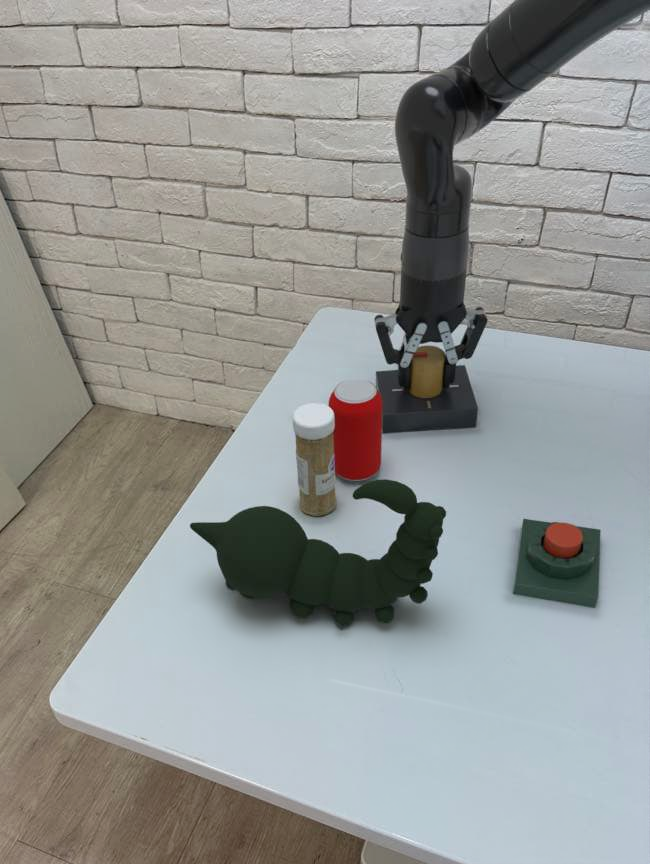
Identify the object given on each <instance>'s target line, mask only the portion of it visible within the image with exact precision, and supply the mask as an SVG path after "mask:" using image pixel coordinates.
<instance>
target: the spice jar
mask: <svg viewBox="0 0 650 864" xmlns="http://www.w3.org/2000/svg"><path fill="white" fill-rule="evenodd" d="M334 428H335V419H334V412H333V410H332V409H331V408H330V407H329V405H327V404H325V403H320V402H309V403H305V404H303V405H301V406H298V407H297V408H296V409H295V410H294V412H293V414H292V429H293V432H294V434H295V458H296V459H295V460H296V470H297V471H296V472H297V473H296V474H297V486H298V491H299V500H298V504H299V508H300V510H301V511H302V512H303V513H305V514H307V515H309V516H313V517H319V516H325V515H327V514H330V513H331V512H332V511H333V510H335V508H336V506H337V498H336V473H335V458H334V443H333V431H334Z"/></svg>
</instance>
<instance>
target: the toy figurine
mask: <svg viewBox="0 0 650 864" xmlns="http://www.w3.org/2000/svg"><path fill="white" fill-rule="evenodd" d="M352 498H353V499H354V500H356V501H358V500H363V499H366V500H370V501H371V500H372V501H375V502H377V503H379V504H382V505H384V506H386V507H387V508H389V509H390V510H391V511H393V512H395V513H397V514H400V515H404V517H403V519H404V521H403V522H402V523H400V525H399V526H398V529H397V531H396V534H395V535H396V537H395V538H396V539H394V541H393V542H392V543H391V544H390V545H389V547H388V550H387V553H385V554H384V555H383V556H382V557H380V558H372V559H371V558H370V559H367V558H366V557H364V556H362V555H360V554H357V553H352V552H341V553H339V551H338V550H337V549H336V548H335V547H334V546H333V545H331V543H329V542H326V541H324V540H321V539H317V538H308V537H307V534H306V531H305V530H304V529H303V526H302V525H301V524H300V523H299V522H298V520H296V518H294V517H293V516H292V515H291V514H289V513H288V512H286V511H284V510H282V509H280V508H277V507H274V506H270V505H259V506H252V507H249V508H245V509H242V510H241V511H238V512H237V513H235V514H234V515H232V517H231V518H229V519H228V520H226V521H222V522H219V521H217V522H215V521H214V522H213V521H212V522H210V521H209V522H205V521H204V522H203V521H202V522H200V521H199V522H198V521H197V522H196V521H195V522H191V523H190V524H189V528H190V530H192V531H193V532H194V533H195V534H197V536H199V537H200V538H201V539H202V540H203V541H205V542H206V543H207V544H209V545H210V546H211V547H213V549H214V550H215V552H216V560H217V564H218V566H219V569H220V572H221V574H222V576H223V579H225V586H226V589H228V590H230V591H237V592H238V593H239V594H240V596H241V597H243V598H245V599H248V600H249V599H251V600H253V599H255V598H259V599H260V598H261V599H265V598H267V599H268V598H273V597H277V596H280V595H283V594H286V595H287V596H288V597H289V598H291V599H290V601H289V608H290V611H291V614H292V615H293V616H294V617H296V618H298V619H307V618H308V617H309V616H311V615H312V614H313V613H314V611H315V608H316V606H317V605H322V604H326V605H327V606H328V607H329V608H331V609H333V610H334V611H335V612H334V613H333V619H334V622H335V623H336V624H337V625H339V626H341V627H347V626H351V624H352V623H353V621H354V616H355V612H359V611H362V610H363V609H365V608H367V609H371V610H374V617H375V620H376V621H377V622H378V623H381V624H390V623H391V622H392V621H393V620H394V619H395V615H396V612H395V607H394V606H393V604H394V603H395V602H397V600H398V599H400V598H401V599H402V598H405V597H408V596H409V599H410V600H411V601H412V602H413V603H414V604H418V605H421V604H423V603H424V602H425V601H427V598H428V596H429V594H428V590H427V589H426V588H425V587H424V586H422V584H423V585H424V584H427V583H429V582H431V581H432V580H433V575H434V572H433V571H432V570H431V569H430V568H431V565H432V563H433V561H434V560H436V558H437V557H438V555H439V550H438V546H439V543H440V538H441V537H442V535H443V533H444V529H443V525H444V519H445V518H446V516H447V511H446V509H445V508H444V507H443V506H441V505H437V506H436V505H435V504H433V503H431V502H429V501H427V502H426V501H419V502H418V498H417V494H416V493H415V491H414V490H413V489H412V488H411V487H410V486H408V485H406V484H405V483H402V482H399V481H397V480H392V479H387V478H386V479H374V480H370V481H367V482H365V483H363V484H361V485H360V486H359V487H357V488H356V489H355V490H353V492H352Z"/></svg>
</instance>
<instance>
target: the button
mask: <svg viewBox="0 0 650 864" xmlns="http://www.w3.org/2000/svg"><path fill="white" fill-rule="evenodd" d="M574 525H575V524H573V525H572V523H568V522H559V523H555V524H552V525H550V526H549V527H548V528H547V530H546V534H545V538H544V542H543V545H544V548H545V550H546V551H547V552H548V553H549V554H551V555H552V556H555V557H558V558H571V557H574V556H575V555H577V554H578V553H579V551H580V547H581V544H582V540H583V534H582V532H581V531H580V530H579V529H578V528H577V527H576V526H577V525H575V526H574Z"/></svg>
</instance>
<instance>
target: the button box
mask: <svg viewBox="0 0 650 864" xmlns="http://www.w3.org/2000/svg"><path fill="white" fill-rule="evenodd" d="M555 523H560V521H559V522H558V521H553V522H550V521H543V520H536V519H529V518H523V519H522V524H521V528H520V529H521V530H520V536H519V544H518V550H517V551H518V552H517V559H516V567H515V575H514V582H513V591H512V594H513V595H517V596H523V597H528V598H535V599H541V600H546V601H553V602H559V603H562V604H563V603H564V604H570V605H576V606H582V607H586V608H587V607H589V608H596V606H597V603H598V598H599V587H600V586H599V584H600V557H601V529H600V528H593V527H585V526H578V525H575V524H572V523H571V524H572V525H574V526H576V527H577V528H578V529H579V530H580V531H581V532H582V534H583V540H582V544H581V547H580V551H579V553H578V554H577V555H575V556H574V557H571V558H558V557H555V556H552V555H551V554H549V553H548V552H547V551H546V550H545V548H544V545H543V542H544V538H545V534H546V530H547V528H548V527H549V526H550V525H552V524H555Z"/></svg>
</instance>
